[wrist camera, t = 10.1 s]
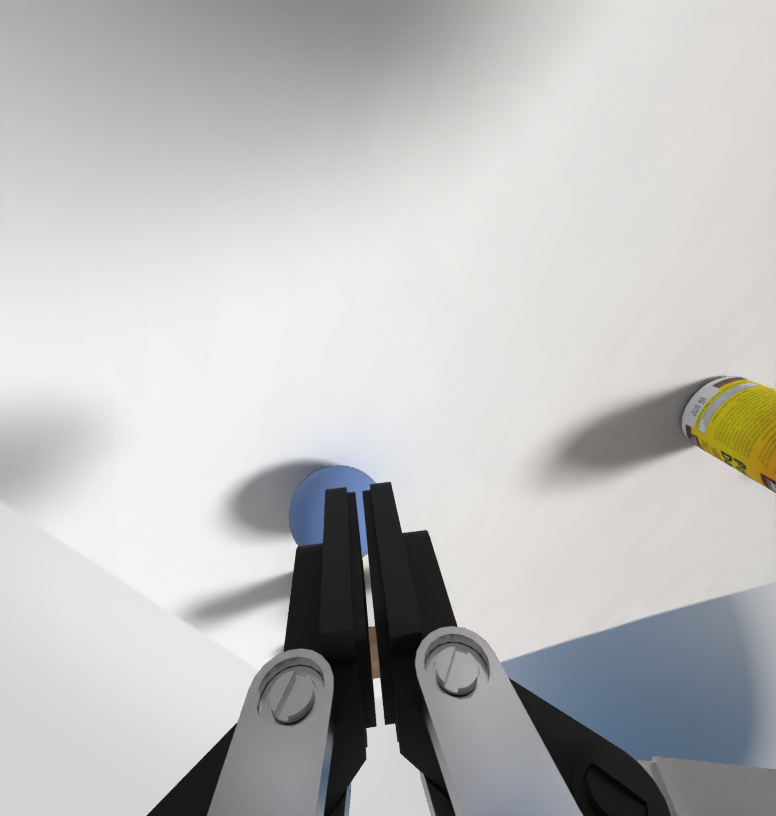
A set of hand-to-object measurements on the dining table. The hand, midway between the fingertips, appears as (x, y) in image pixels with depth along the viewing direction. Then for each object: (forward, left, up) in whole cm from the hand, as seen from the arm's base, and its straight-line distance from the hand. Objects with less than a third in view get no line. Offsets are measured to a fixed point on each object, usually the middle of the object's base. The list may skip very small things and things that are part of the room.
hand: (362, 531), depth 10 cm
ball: (+9, -1, -12) cm, 15 cm away
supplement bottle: (+6, +26, -15) cm, 31 cm away
